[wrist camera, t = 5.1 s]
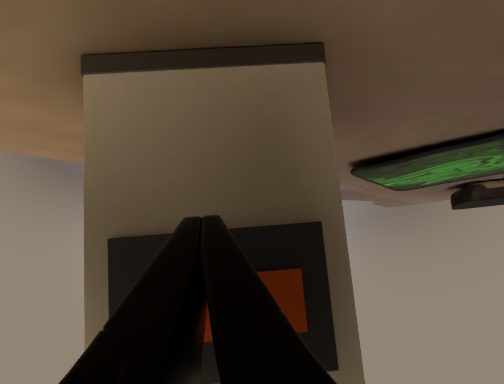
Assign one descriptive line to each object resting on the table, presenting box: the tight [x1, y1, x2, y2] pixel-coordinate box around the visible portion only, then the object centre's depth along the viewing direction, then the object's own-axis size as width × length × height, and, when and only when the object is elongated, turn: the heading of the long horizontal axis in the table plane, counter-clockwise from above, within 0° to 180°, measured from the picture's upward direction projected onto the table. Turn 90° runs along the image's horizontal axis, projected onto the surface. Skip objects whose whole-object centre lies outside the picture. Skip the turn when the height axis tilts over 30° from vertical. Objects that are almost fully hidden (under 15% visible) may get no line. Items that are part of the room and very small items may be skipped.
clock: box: [81, 43, 365, 384], centre depth 14 cm, size 5×9×14 cm, turn 87°
